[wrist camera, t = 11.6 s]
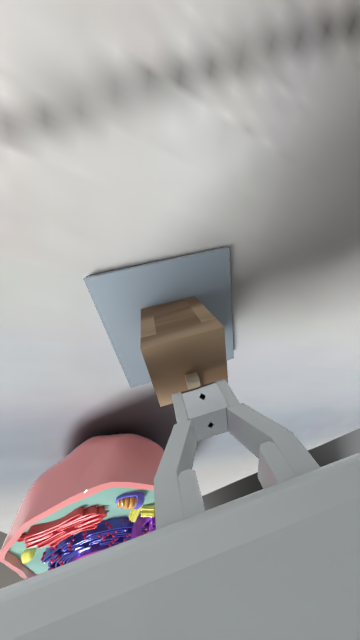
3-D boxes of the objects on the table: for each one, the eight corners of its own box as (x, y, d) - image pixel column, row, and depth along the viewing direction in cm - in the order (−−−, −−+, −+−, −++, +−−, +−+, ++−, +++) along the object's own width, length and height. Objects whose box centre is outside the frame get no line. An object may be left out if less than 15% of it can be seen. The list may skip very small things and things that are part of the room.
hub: (87, 275, 14) (58, 295, 9) (223, 247, 15) (263, 250, 10) (131, 379, 20) (128, 428, 14) (229, 352, 21) (257, 388, 16)
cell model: (195, 408, 24) (234, 529, 14) (148, 486, 30) (152, 608, 20) (58, 392, 18) (-41, 576, 8) (36, 492, 25) (-35, 665, 15)
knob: (140, 309, 15) (140, 355, 9) (194, 296, 16) (229, 331, 10) (154, 353, 17) (161, 414, 11) (201, 341, 18) (232, 393, 12)
